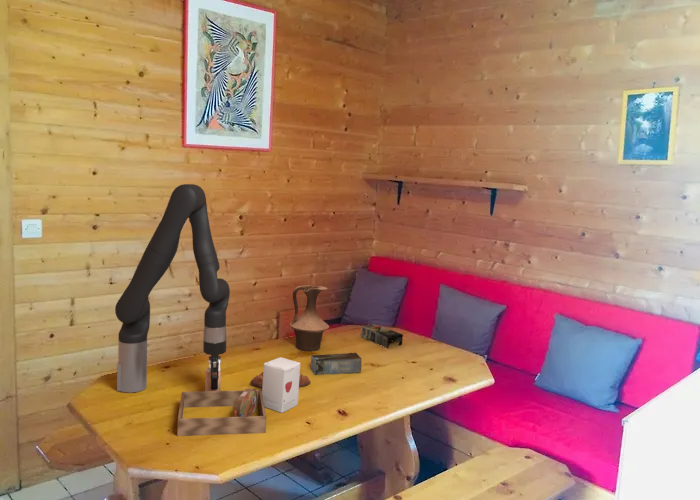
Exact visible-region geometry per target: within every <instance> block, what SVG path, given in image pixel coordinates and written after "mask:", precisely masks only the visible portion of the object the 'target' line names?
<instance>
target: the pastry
mask: <svg viewBox="0 0 700 500" xmlns="http://www.w3.org/2000/svg"><path fill="white" fill-rule="evenodd" d="M309 384H311V380H310V379H309V377H308V376H307V375H303V374H302V373H301V372H300V376H299V388H304V387H306V386H307V387H308V385H309ZM250 385H251V387H256V388H259V389H262V387H263V371H262V372H261V373H259V374H258V375H256V376H254V377H253V378H252V379H251V380H250Z"/></svg>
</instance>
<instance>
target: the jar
mask: <svg viewBox="0 0 700 500" xmlns="http://www.w3.org/2000/svg"><path fill="white" fill-rule="evenodd" d="M212 375H217V372H213V373H212ZM218 376H219V378H218V389H217V390H212V389H211V378H210V377H211V373H210V372H209V366H208V367H206V370H205V383H204V385H205V389H204V391H221V382H222V381H221V379H222V377H221V376H222V371H221V369H220V372H219V373H218Z"/></svg>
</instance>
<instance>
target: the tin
mask: <svg viewBox="0 0 700 500" xmlns="http://www.w3.org/2000/svg"><path fill="white" fill-rule="evenodd" d="M256 390H257V389H255V388H246V389H245V391H244V390H243V391H244V392H243V393H242V394H241V395H240V396H239V397H238V398H237V399H236V401H235V403H234V406H232V407H233V408H232V417H250V416H254V414H255V413H256V410H257V406H258V405H257V392H256Z"/></svg>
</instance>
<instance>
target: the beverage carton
mask: <svg viewBox="0 0 700 500" xmlns="http://www.w3.org/2000/svg"><path fill="white" fill-rule="evenodd" d="M310 356H311V357H310V370H311V371H312V373H313V374H314V375H315V376H322V375H323V376H325V375H324V374H330V375H340V374H341V373H345V374H358V373H357V372H361V373H362V357H361V356H360V355H358V353H357V352H345V353H331V354H330V353H329V354H327V353H326V354H311V355H310Z"/></svg>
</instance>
